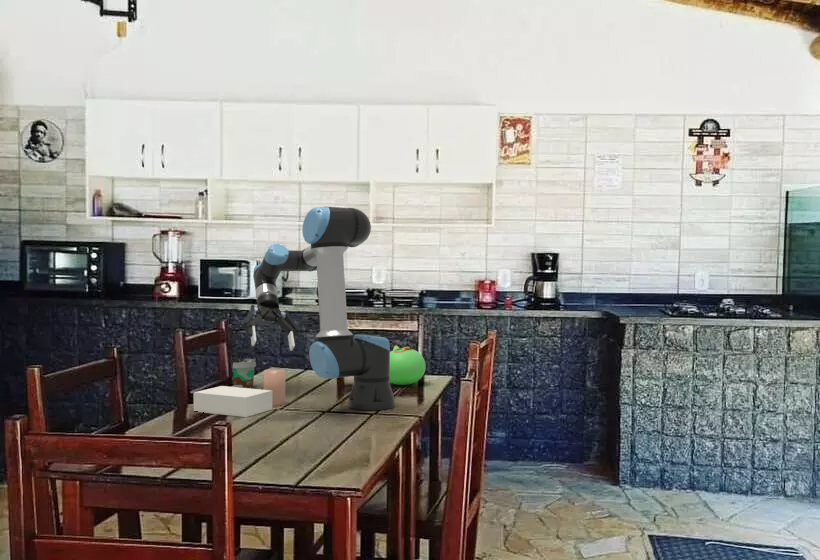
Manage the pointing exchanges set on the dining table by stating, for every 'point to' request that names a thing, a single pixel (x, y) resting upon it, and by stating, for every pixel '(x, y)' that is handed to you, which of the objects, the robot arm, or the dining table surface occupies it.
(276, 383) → the terracotta canister
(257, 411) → the cream riser
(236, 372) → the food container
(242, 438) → the dining table surface
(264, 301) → the robot arm
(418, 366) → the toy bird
